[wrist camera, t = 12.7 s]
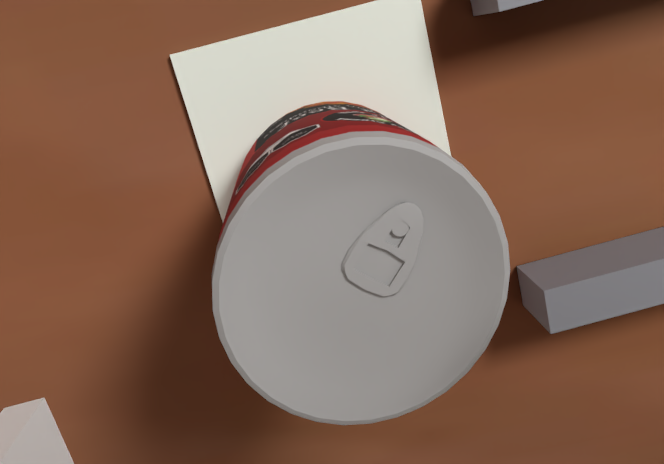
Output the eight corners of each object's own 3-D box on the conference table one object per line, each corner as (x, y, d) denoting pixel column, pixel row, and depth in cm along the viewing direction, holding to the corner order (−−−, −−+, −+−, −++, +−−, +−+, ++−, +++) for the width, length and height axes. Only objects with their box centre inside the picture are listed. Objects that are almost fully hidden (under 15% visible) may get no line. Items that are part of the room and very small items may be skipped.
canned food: (440, 121, 26) (554, 170, 15) (391, 297, 28) (462, 449, 17) (257, 78, 25) (243, 99, 14) (220, 265, 27) (184, 405, 16)
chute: (166, 42, 24) (151, 40, 21) (856, -140, 24) (933, -165, 22) (271, 373, 28) (271, 409, 26) (854, 216, 29) (918, 234, 26)
